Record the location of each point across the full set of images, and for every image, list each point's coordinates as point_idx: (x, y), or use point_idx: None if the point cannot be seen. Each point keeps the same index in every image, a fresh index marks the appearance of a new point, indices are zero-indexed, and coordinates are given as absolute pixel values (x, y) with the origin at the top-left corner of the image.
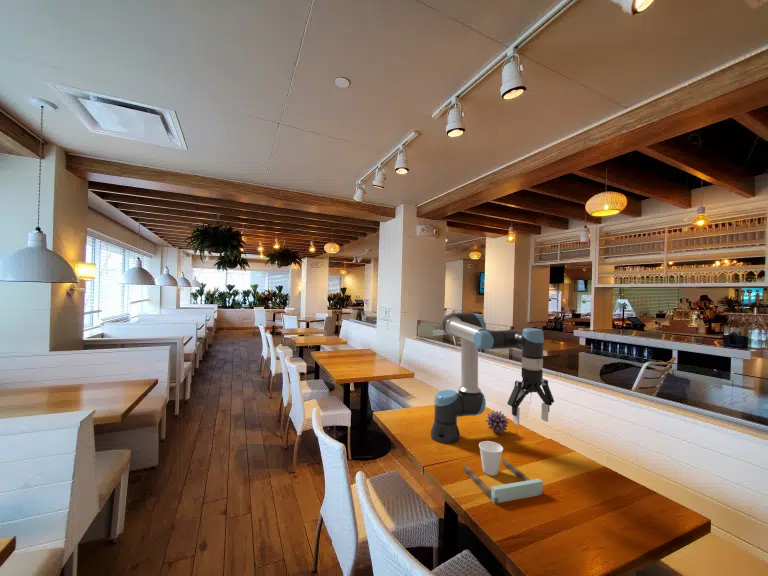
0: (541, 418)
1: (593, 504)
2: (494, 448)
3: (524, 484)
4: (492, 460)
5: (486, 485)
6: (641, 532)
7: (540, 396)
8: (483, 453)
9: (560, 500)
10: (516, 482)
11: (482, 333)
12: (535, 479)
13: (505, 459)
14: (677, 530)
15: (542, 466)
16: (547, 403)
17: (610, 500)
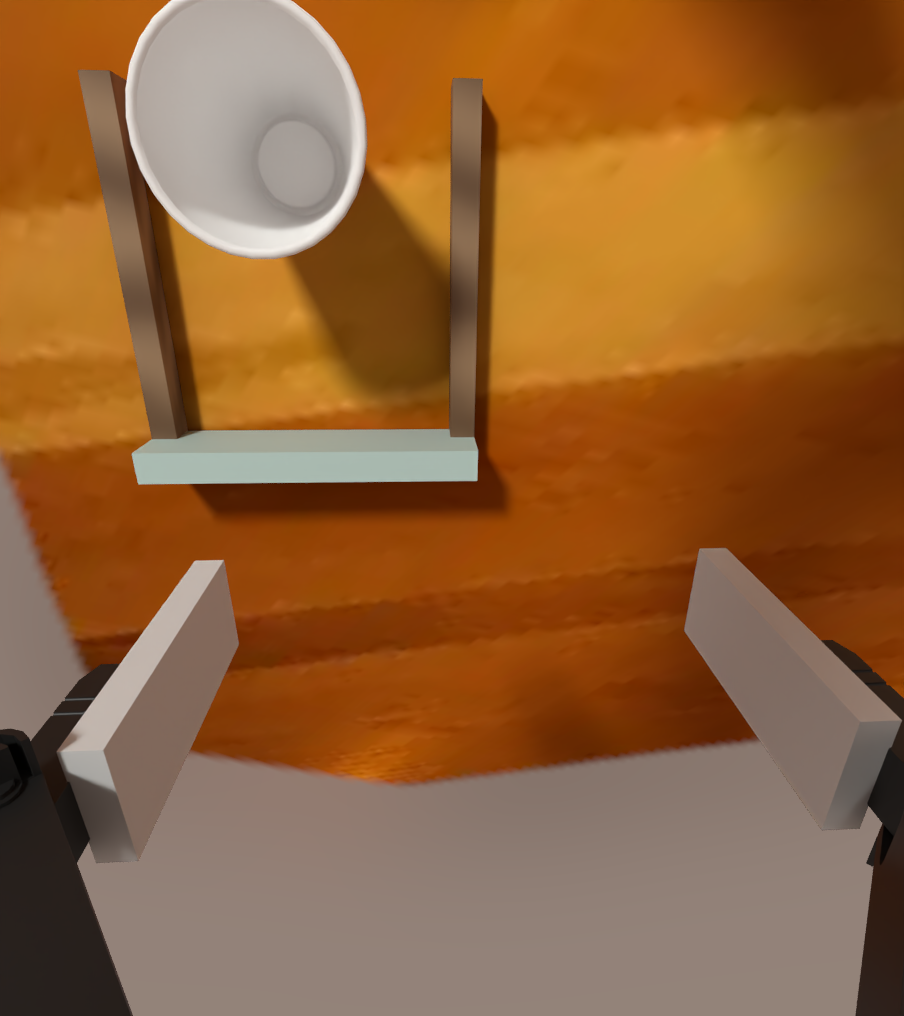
0: (701, 556)
1: (648, 566)
2: (335, 79)
3: (349, 479)
4: (242, 233)
5: (161, 356)
6: (659, 710)
7: (892, 933)
8: (164, 167)
9: (524, 512)
10: (312, 453)
11: None
12: (449, 454)
13: (480, 79)
14: None
15: (715, 203)
16: (878, 841)
17: (752, 562)
